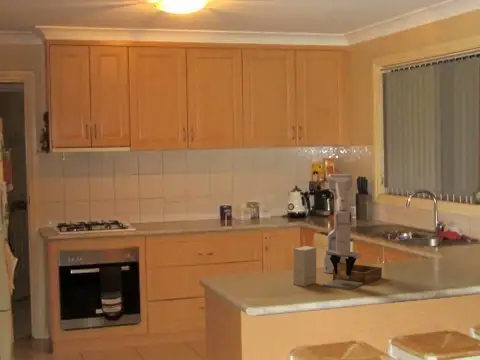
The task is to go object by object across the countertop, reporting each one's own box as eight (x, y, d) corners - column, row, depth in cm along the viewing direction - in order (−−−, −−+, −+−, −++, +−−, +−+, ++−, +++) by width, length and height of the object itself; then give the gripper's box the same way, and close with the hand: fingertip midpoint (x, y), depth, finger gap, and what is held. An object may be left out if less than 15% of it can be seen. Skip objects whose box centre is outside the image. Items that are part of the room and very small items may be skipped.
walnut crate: (332, 279, 304) (332, 269, 304) (349, 274, 317) (349, 263, 316) (365, 284, 296) (366, 273, 295) (381, 278, 308) (381, 267, 308)
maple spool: (335, 278, 293) (335, 263, 292) (340, 276, 296) (340, 262, 296) (345, 279, 290) (345, 264, 290) (350, 278, 294) (350, 263, 293)
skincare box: (305, 281, 302) (305, 245, 301) (317, 283, 298) (317, 247, 297) (292, 284, 296) (292, 247, 295) (304, 286, 292) (304, 249, 291)
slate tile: (322, 286, 292) (322, 284, 292) (336, 281, 302) (336, 279, 302) (349, 290, 285) (349, 287, 285) (363, 284, 295) (363, 282, 295)
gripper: (322, 240, 293) (322, 274, 294) (355, 243, 285) (354, 278, 286) (330, 238, 299) (330, 271, 300) (363, 241, 291) (362, 275, 291)
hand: (342, 274), depth 293 cm, fingers closed on maple spool, 4 cm apart
